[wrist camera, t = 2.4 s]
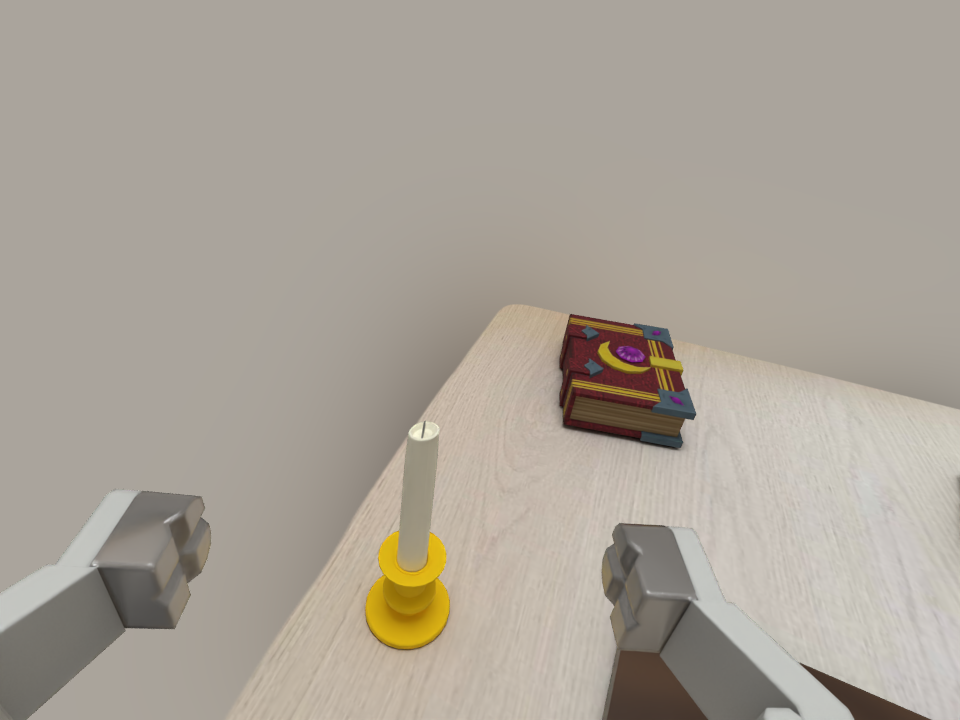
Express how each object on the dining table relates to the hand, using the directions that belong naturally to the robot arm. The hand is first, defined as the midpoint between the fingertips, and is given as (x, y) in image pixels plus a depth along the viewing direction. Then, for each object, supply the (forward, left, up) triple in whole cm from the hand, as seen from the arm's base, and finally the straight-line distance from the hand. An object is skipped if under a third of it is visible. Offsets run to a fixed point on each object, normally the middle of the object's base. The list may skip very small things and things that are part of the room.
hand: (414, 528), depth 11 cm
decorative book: (+31, +28, -23) cm, 48 cm away
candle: (+4, +11, -23) cm, 26 cm away
